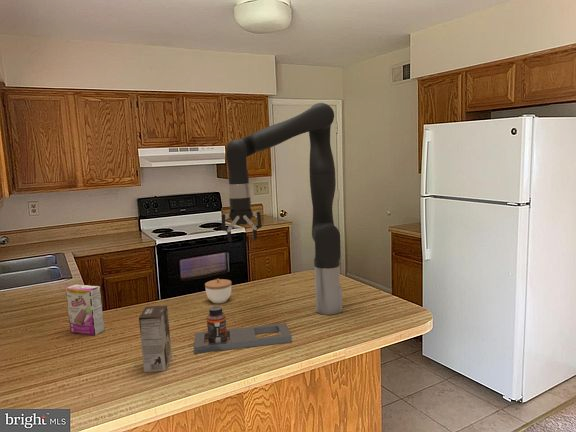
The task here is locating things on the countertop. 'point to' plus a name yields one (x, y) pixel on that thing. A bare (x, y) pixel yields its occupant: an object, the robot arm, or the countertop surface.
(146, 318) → the coffee box
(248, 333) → the plate with square holes
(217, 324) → the supplement bottle
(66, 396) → the countertop surface
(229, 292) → the lidded jar
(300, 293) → the countertop surface
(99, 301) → the candy bar box
